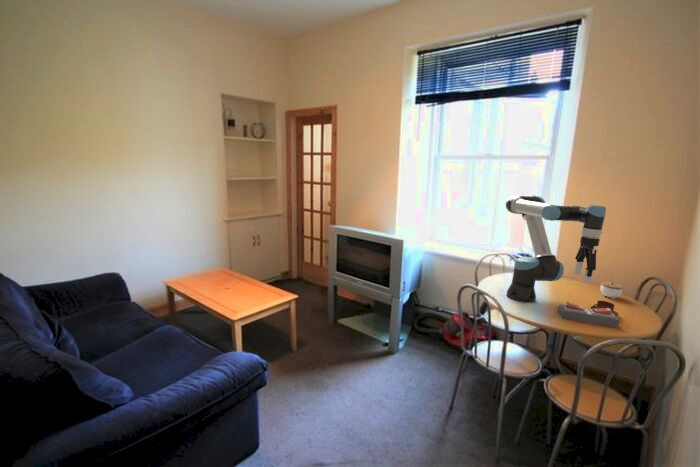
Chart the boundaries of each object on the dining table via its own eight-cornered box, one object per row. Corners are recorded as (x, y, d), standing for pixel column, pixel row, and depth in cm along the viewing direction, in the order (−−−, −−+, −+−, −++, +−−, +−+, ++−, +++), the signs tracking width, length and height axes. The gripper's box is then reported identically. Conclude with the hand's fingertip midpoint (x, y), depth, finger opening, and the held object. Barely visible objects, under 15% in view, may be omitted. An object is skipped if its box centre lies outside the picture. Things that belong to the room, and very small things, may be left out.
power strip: (561, 318, 172) (563, 309, 171) (557, 311, 180) (559, 302, 179) (617, 327, 165) (620, 318, 164) (610, 320, 173) (612, 311, 172)
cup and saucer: (606, 320, 173) (608, 309, 172) (584, 310, 184) (586, 299, 183) (623, 318, 177) (626, 307, 175) (600, 308, 188) (603, 298, 187)
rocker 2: (595, 313, 169) (595, 311, 169) (592, 310, 173) (592, 308, 172) (612, 313, 167) (612, 310, 167) (609, 310, 170) (609, 307, 170)
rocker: (568, 306, 173) (569, 303, 172) (566, 303, 176) (567, 301, 176) (582, 311, 171) (584, 309, 171) (580, 308, 174) (581, 306, 174)
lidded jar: (617, 301, 200) (621, 286, 198) (596, 295, 208) (599, 280, 206) (622, 297, 206) (625, 283, 204) (601, 291, 214) (604, 277, 212)
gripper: (610, 243, 153) (600, 287, 158) (589, 233, 177) (581, 271, 181) (591, 241, 155) (581, 285, 160) (573, 231, 179) (565, 269, 183)
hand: (581, 278), depth 171 cm, fingers open, 13 cm apart
